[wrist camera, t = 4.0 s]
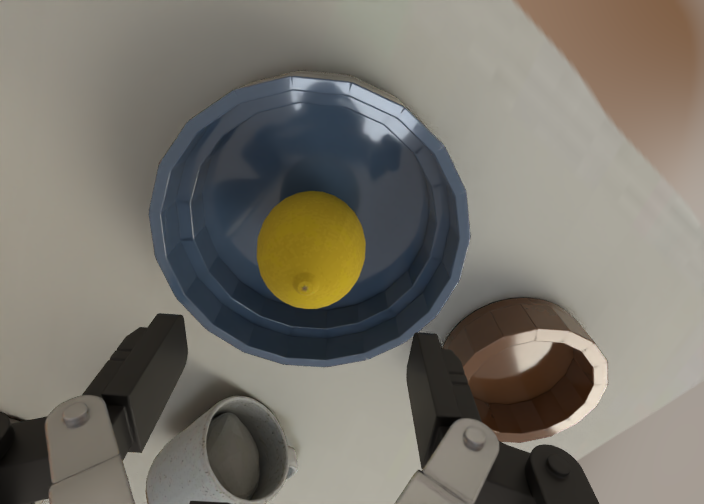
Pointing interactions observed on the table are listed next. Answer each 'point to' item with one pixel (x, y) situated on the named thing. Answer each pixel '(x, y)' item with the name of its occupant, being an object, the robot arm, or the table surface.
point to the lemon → (311, 249)
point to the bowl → (300, 176)
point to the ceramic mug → (224, 458)
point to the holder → (529, 367)
